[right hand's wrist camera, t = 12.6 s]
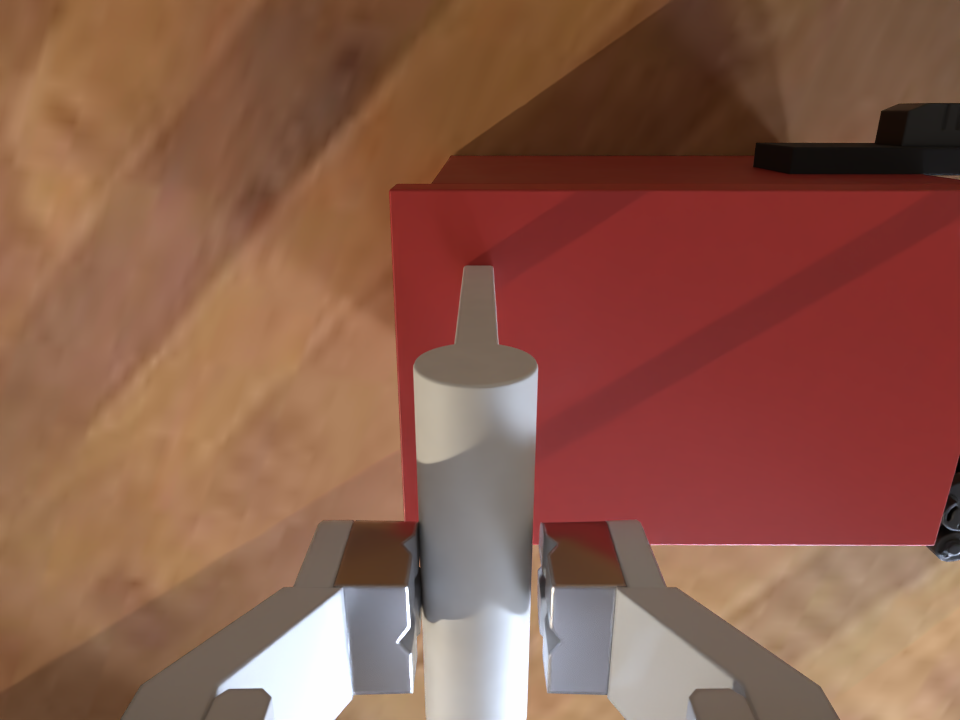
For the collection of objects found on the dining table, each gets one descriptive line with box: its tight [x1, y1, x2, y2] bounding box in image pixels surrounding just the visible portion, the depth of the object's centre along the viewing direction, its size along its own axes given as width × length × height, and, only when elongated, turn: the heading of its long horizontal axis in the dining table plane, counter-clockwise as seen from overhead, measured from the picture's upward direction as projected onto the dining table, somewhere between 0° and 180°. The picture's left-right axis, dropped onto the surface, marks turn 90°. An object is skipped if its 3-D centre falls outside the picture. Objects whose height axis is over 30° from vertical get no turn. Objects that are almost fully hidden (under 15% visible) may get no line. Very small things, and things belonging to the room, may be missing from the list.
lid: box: [389, 184, 960, 720], centre depth 14 cm, size 15×10×9 cm, turn 90°
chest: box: [432, 156, 960, 184], centre depth 23 cm, size 14×10×11 cm
